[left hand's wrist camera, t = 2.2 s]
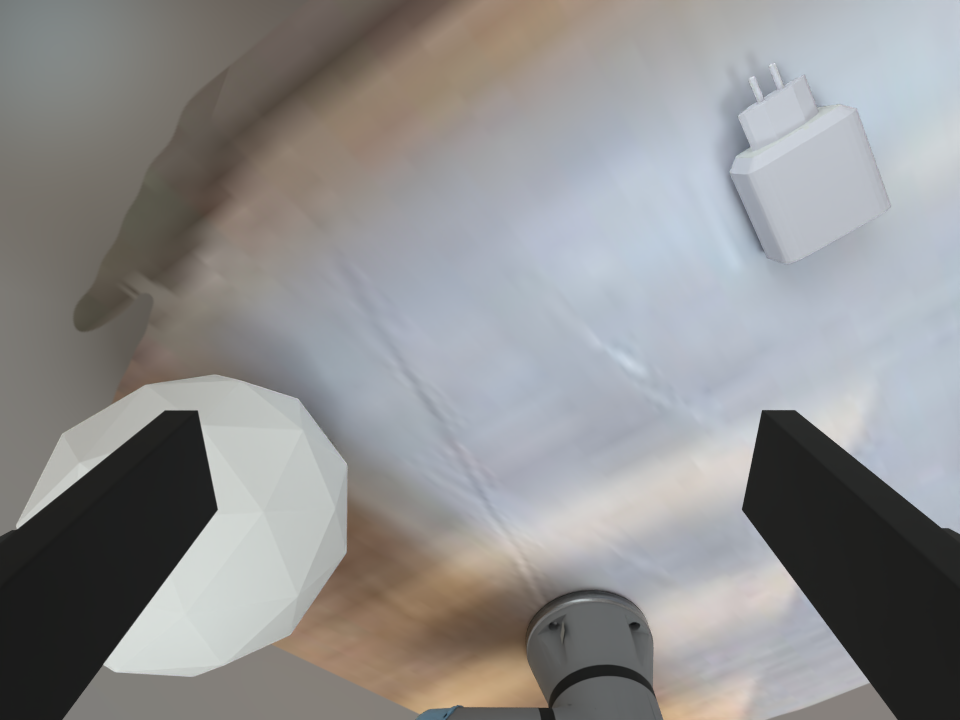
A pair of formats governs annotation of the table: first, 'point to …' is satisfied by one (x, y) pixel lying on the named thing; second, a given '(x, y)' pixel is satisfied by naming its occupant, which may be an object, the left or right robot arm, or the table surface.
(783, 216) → the charger
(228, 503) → the decorative sphere
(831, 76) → the table surface
